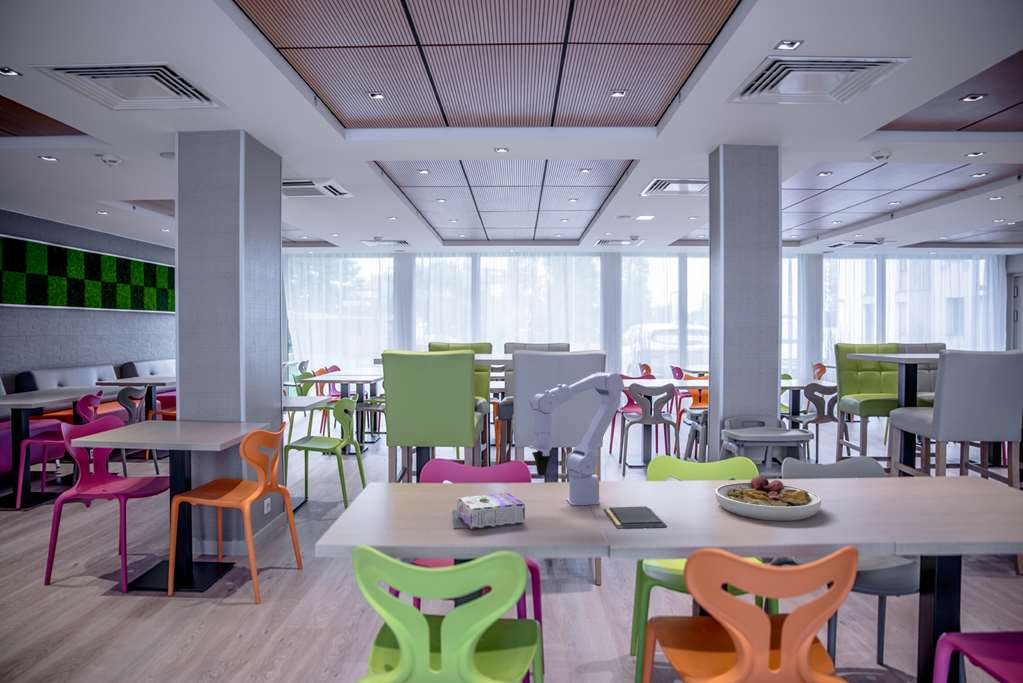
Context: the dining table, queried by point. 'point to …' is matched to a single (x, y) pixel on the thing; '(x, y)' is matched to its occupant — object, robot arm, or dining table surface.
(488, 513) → the candy box
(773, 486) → the bowl
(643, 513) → the wallet
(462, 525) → the mat
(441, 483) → the dining table surface
